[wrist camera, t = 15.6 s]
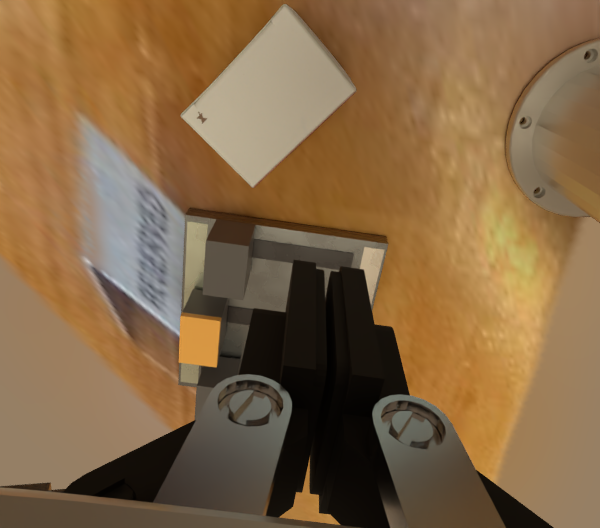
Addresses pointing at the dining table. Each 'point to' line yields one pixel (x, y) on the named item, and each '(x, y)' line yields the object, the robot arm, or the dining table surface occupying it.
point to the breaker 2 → (214, 379)
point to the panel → (273, 269)
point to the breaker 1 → (228, 259)
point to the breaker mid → (202, 329)
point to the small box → (270, 97)
